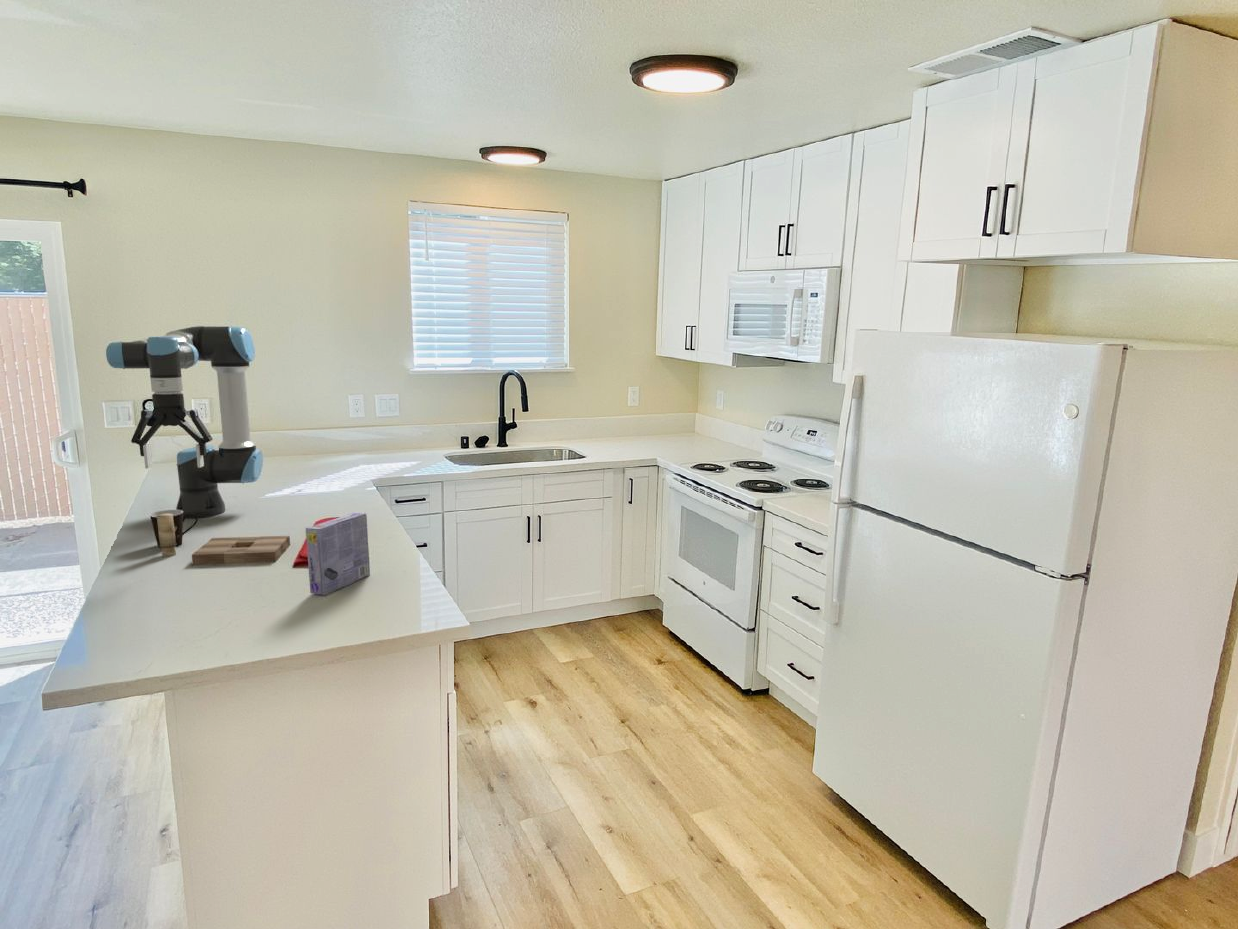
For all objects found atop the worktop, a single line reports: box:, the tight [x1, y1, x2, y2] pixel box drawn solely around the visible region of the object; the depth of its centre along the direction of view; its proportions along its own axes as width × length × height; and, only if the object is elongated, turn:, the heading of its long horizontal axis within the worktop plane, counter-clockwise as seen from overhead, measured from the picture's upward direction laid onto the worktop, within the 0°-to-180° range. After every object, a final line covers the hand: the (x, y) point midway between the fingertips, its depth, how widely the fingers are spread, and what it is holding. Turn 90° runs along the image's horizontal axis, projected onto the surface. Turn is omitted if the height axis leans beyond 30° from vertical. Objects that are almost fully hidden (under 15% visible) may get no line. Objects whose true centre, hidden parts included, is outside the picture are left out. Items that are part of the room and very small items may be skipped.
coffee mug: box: [149, 509, 198, 549], centre depth 227 cm, size 12×9×10 cm
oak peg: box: [157, 514, 177, 558], centre depth 217 cm, size 4×4×12 cm
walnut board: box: [191, 535, 291, 566], centre depth 220 cm, size 16×22×3 cm
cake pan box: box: [305, 512, 371, 597], centre depth 197 cm, size 19×5×18 cm, turn 159°
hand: (175, 467), depth 213 cm, fingers open, 13 cm apart
